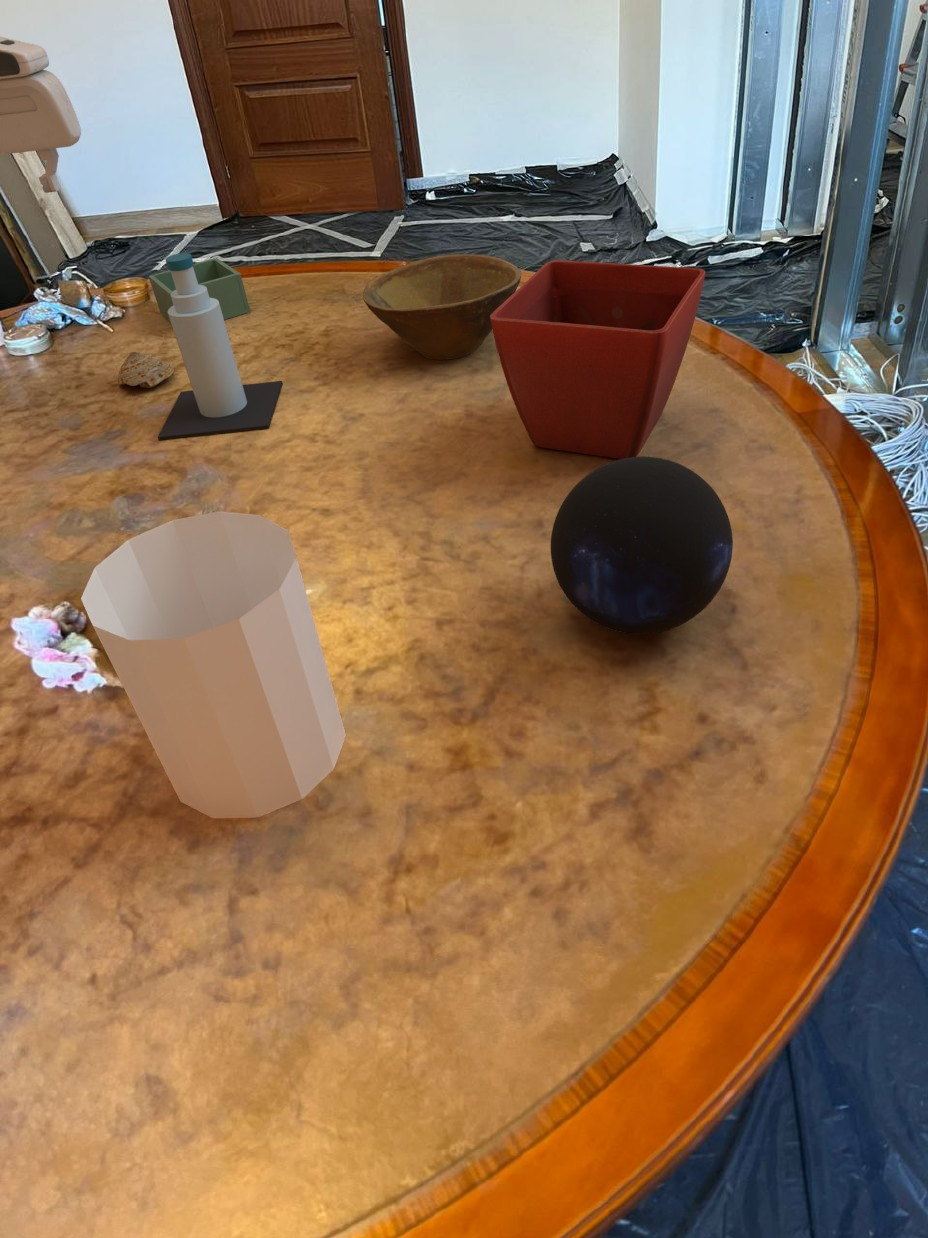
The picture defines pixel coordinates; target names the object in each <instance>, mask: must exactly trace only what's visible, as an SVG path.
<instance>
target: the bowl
mask: <svg viewBox="0 0 928 1238" xmlns="http://www.w3.org/2000/svg"><path fill="white" fill-rule="evenodd" d="M521 279H522V272H521V270H520V269H519V268H518V266H516V265H515V264H513V263H512V262H510V261H507V260H505V259H502V258H499V257H496V256H492V255H486V254H485V255H484V254H475V253H474V254H473V253H469V254H468V253H467V254H464V253H463V254H444V255H438V256H433V257H428V258H425V259H421V260H417V261H413V262H410V263H407V264H404V265H401V266H399V267H395V268H392V269H391V270H390V271H385V272H382V273H381V274H379V275H377V276H375V277H374V278H372V279H371V280H369V281H368V283H366V285H365V287H364V289H363V291H362V299H363V302H364V303H365V305H366V307H367V308H368V309H369V311H371V312H372V314H374V315H375V317H376V318H377V319H378V320H380V321H381V322H382V323H383V324H384V325H386V326H387V327H388V328H390V330H392V331H393V333H395V334H396V335H397V336H398V337H399V338H400V339H401V340H403V341H404V342H405V343H406V344H408V345H409V346H410V347H411V348H412V349H413V350H415V351H416V353H418V354H420V355H422V356H423V357H424V358H426V359H429V360H436V361H437V360H438V361H440V360H442V361H444V360H446V361H447V360H452V359H459V358H462V357H465V356H468V355H470V354H471V353H472V354H473V353H474V352H475V351H477V350H478V348H480V346H481V345H482V344H483V342H484V341H485V339H486V338H487V337H488V335H489V334H490V333H491V332H492V331H493V330H492V325H491V319H490V315H491V314H492V313H493V312H494V311H495V310H496V309H497V308H498V307H499V306H501V305H502V304H503V303H504V302H505V301H506V300H507V299H508V298H509V297H510V296H511V295H513V294H514V293H515V292H516V291H517V290H518V287H519V285H520V283H521Z"/></svg>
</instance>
